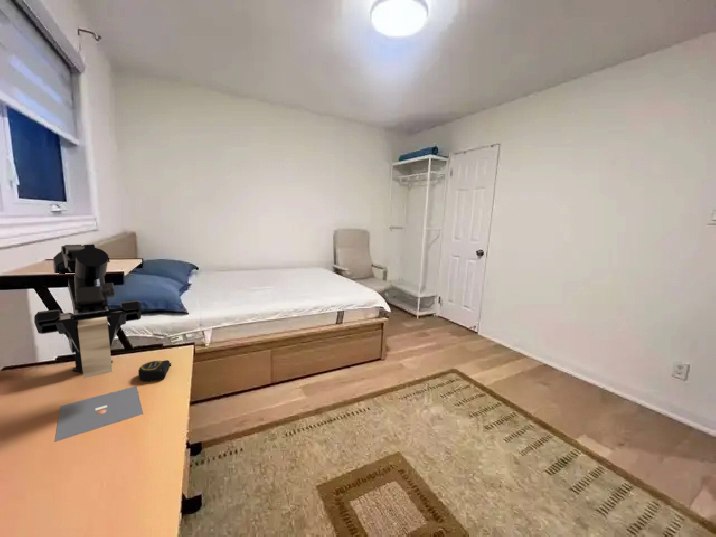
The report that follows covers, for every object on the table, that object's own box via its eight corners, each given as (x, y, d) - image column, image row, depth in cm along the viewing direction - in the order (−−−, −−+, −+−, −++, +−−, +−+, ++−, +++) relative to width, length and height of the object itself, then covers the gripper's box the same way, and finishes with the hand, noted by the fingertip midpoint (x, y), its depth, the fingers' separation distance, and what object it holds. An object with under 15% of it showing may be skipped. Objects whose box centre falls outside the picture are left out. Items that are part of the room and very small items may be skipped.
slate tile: (60, 408, 69) (60, 405, 69) (136, 388, 78) (136, 385, 78) (55, 444, 59) (54, 441, 59) (143, 416, 68) (143, 413, 68)
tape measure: (165, 383, 82) (164, 369, 81) (134, 386, 80) (133, 372, 79) (171, 370, 88) (171, 358, 87) (144, 373, 86) (143, 360, 85)
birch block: (83, 369, 72) (78, 320, 70) (111, 363, 75) (106, 316, 73) (83, 378, 68) (77, 326, 66) (112, 371, 71) (107, 322, 69)
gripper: (29, 275, 65) (28, 342, 58) (137, 268, 77) (146, 324, 70) (39, 302, 72) (39, 365, 66) (136, 292, 84) (144, 344, 78)
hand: (95, 348), depth 70 cm, fingers closed on birch block, 5 cm apart
